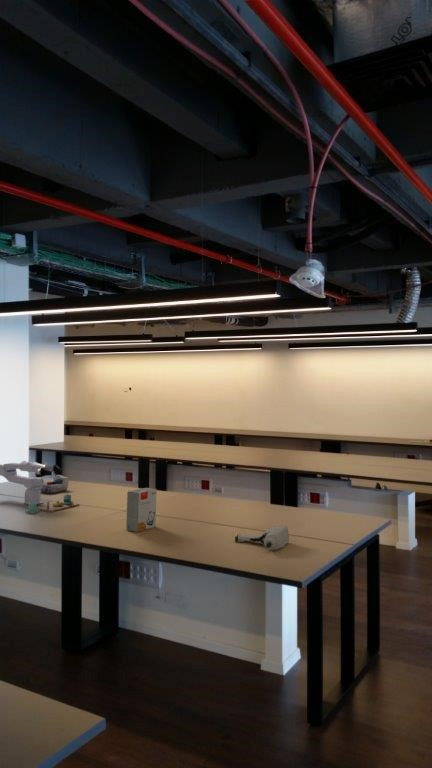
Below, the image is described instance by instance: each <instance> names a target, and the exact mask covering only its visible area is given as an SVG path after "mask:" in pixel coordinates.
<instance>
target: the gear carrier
mask: <svg viewBox="0 0 432 768" xmlns="http://www.w3.org/2000/svg"><path fill="white" fill-rule="evenodd" d="M79 506H80V503H76V502H74V500H72V494H69V493H66V494H64V495H63V500H62V501H59V500H56V501H53V502H52V504H50V501H46V504H45V505H42V506H38V507H36V509H38V510H39V512H40V511H42V512H46V513H54V512H58V511H63V510H66V509H67V510H68V509H71V508H75V507H79Z"/></svg>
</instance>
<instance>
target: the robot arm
mask: <svg viewBox="0 0 432 768" xmlns="http://www.w3.org/2000/svg"><path fill="white" fill-rule="evenodd" d="M17 470H20V471H21V472H27V473H31V472H33V473H35V474H36V475H40V477H30V476H29V477H28V476H25V475H20V474H18V472H17ZM62 473H63V469H62V468H60V466H58V464H53V465H49V463H45V464H42V463H38V462H37V461H33V462H32V461H31V460H30V461H26V460H23V461H21V462H20V463H19V462H18V463H17V462H10V463H4V464H0V476H1V477H4V478H5V479H6V480H7V482H9V483H14V484H19V485H23V486H24V488H26V489H25V492H24V502H23V504H27V505H28V503H31V502H36V503H37V504H36V505H40V504H43V503H44V501H42V499H41V498H42V497H41V493H42V492H41V488H42V486H43V485H44V479H43V477H44V478H45V477H47V476H48V477H49V476H52V475H53V474H54V475H55V474H56V475H57V474H62Z"/></svg>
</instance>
